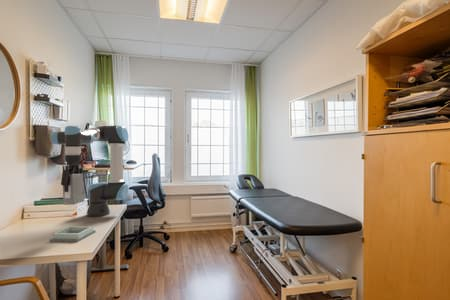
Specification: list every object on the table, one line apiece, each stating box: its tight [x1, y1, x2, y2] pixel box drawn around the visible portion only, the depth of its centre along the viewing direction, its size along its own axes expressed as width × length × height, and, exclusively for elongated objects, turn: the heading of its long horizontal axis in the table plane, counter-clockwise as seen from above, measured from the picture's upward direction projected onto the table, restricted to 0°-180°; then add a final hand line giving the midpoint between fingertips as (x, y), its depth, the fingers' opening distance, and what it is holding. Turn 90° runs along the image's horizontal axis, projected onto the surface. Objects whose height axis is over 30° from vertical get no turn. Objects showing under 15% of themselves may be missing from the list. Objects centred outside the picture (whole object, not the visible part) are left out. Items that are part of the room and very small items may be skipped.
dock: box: [49, 225, 96, 243], centre depth 140 cm, size 16×15×4 cm
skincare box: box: [62, 173, 85, 205], centre depth 140 cm, size 8×7×16 cm
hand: (73, 196), depth 140 cm, fingers closed on skincare box, 8 cm apart
